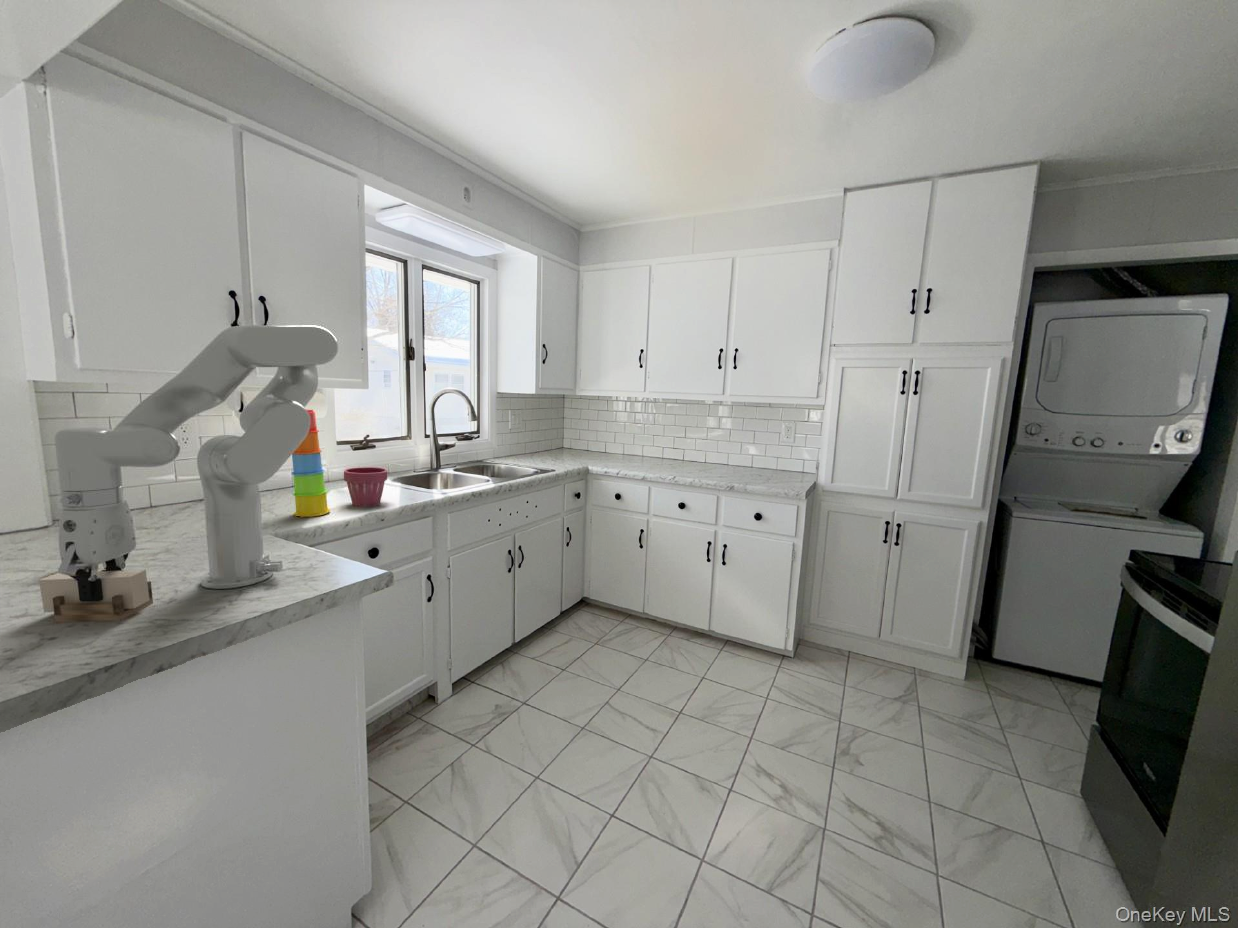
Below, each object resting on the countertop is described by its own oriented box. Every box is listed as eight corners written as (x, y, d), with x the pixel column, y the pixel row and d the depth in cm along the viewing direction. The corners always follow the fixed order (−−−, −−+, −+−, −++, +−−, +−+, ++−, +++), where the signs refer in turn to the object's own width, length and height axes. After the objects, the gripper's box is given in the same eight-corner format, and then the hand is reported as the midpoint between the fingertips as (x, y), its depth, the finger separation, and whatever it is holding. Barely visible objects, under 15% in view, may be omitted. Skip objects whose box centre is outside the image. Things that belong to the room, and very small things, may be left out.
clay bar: (149, 600, 92) (145, 569, 91) (134, 608, 88) (130, 576, 87) (63, 603, 90) (58, 572, 89) (44, 612, 86) (38, 579, 85)
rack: (153, 602, 94) (151, 581, 93) (120, 620, 87) (118, 597, 86) (93, 603, 92) (91, 581, 92) (55, 621, 85) (52, 598, 85)
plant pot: (396, 503, 181) (395, 469, 179) (359, 510, 169) (358, 474, 167) (373, 498, 188) (372, 465, 187) (336, 504, 176) (335, 469, 175)
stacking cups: (308, 519, 156) (304, 410, 151) (286, 514, 159) (281, 409, 154) (337, 512, 165) (333, 410, 161) (315, 508, 169) (311, 408, 164)
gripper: (73, 508, 79) (84, 615, 81) (154, 489, 95) (161, 578, 98) (18, 508, 78) (31, 616, 80) (110, 488, 94) (118, 578, 96)
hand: (102, 594), depth 89 cm, fingers open, 3 cm apart
